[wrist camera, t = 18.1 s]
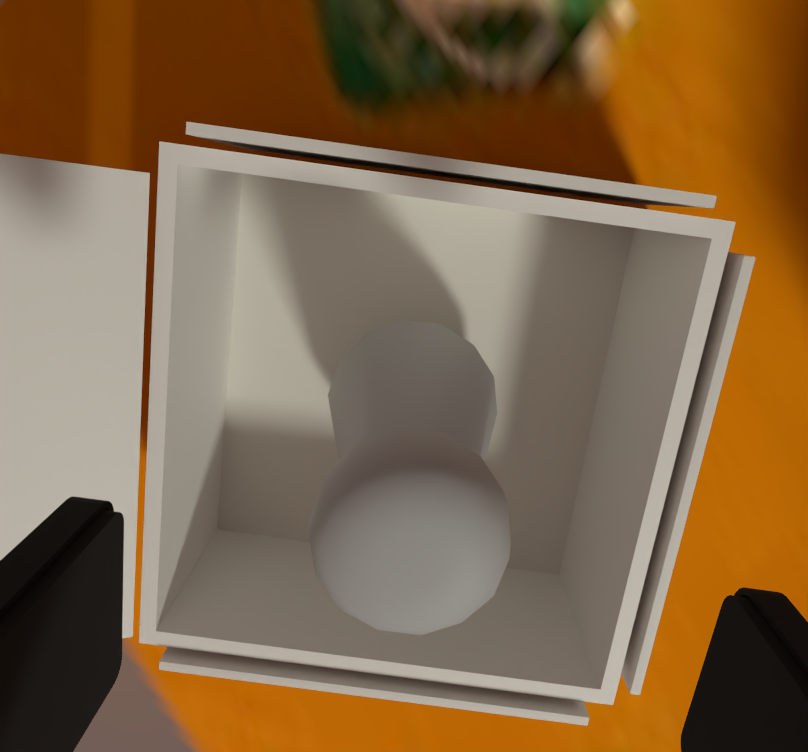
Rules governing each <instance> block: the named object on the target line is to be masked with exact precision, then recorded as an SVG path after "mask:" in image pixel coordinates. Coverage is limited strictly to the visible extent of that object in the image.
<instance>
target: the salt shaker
mask: <svg viewBox="0 0 808 752" xmlns="http://www.w3.org/2000/svg"><path fill="white" fill-rule="evenodd" d="M328 399H329V405H330V411H331V417H332V423H333V429H334V435H335V441H336V447H337V453H338V459H339V461H338V462H337V463H336V464H335V465H334V466H333V467H332V468H331V469H330V470H329V471H328V473H327V474H326V476H325V478H324V480H323V482H322V485H321V488H320V491H319V493H318V496H317V499H316V502H315V505H314V508H313V510H312V513H311V516H310V519H309V540H310V545H311V551H312V556H313V562H314V567H315V573H316V577H317V579H318V580H319V581H320V583H321V584H322V585H323V587H324V588H325V590H326V591H327V592H328V594H329V595H330V596H331V598H332V599H333V601H334V602H335V603H336V605H337V606H338V608H339V609H340V610H341V611H343V612H345V613H347V614H348V615H350V616H352V617H354V618H356V619H358V620H360V621H362V622H363V623H365V624H367V625H369V626H371V627H373V628H375V629H376V630H379V631H388V632H396V633H405V634H413V635H424V634H427V633H430V632H433V631H437V630H440V629H443V628H447V627H450V626H453V625H456V624H460V623H462V622H463V621H465V620H466V619H467V618H468V617H469V616H471V615H472V614H473V613H474V612H475V611H477V610H478V609H479V608H480V607H481V606H483V605H484V604H485V603H486V602H487V601H489V600H490V599H491V598H492V597H493V596H494V595H495V592H496V590H497V587H498V585H499V583H500V580H501V578H502V575H503V573H504V571H505V568H506V566H507V563H508V561H509V558H510V547H511V539H510V525H509V512H508V501H507V499H506V496H505V494H504V491H503V489H502V488H501V486H500V485H499V483H498V482H497V480H496V479H495V477H494V476H493V474H492V473H491V471H490V470H489V468H488V467H487V465H486V464H485V459H486V455H487V451H488V447H489V443H490V439H491V435H492V432H493V428H494V424H495V420H496V416H497V404H496V392H495V381H494V376H493V374H492V373H491V371H490V369H489V368H488V366H487V365H486V363H485V362H484V360H483V358H482V357H481V355H480V354H479V352H478V350H477V349H476V347H475V346H474V345H473V344H472V343H470V342H469V341H467V340H465V339H464V338H462V337H461V336H459V335H457V334H456V333H454V332H453V331H451V330H449V329H448V328H446V327H445V326H443V325H441V324H436V323H426V322H417V321H407V320H403V321H400V322H397V323H394V324H391V325H388V326H385V327H382V328H379V329H376V330H373V331H370V332H368V333H366V334H365V335H364V336H363V337H362V338H361V339H360V340H359V341H358V342H357V343H356V344H355V345H354V346H353V347H352V348H351V349H350V350H349V351H348V352H347V353H346V354H345V356H344V357H343V358H342V359H341V360H340V362H339V365H338V367H337V370H336V373H335V376H334V379H333V382H332V384H331V387H330V390H329V393H328Z"/></svg>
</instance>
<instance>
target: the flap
mask: <svg viewBox="0 0 808 752" xmlns="http://www.w3.org/2000/svg"><path fill="white" fill-rule="evenodd" d="M149 185H150V173H148V172H140V171H132V170H125V169H117V168H109V167H101V166H94V165H86V164H78V163H70V162H63V161H55V160H47V159H39V158H32V157H24V156H16V155H8V154H1V153H0V560H2V559H3V558H4V557H5V556H6V555H7V554H8V553H9V552H10V551H11V550H12V549H14V548H15V547H16V546H17V545H18V544H19V543H20V542H21V541H22V540H23V539H24V538H25V537H27V536H28V535H29V534H30V533H31V532H32V531H33V530H34V529H35V528H36V527H37V526H38V525H40V524H41V523H42V522H43V521H44V520H45V519H46V518H47V517H48V516H49V515H50V514H52V513H53V512H54V511H55V510H56V509H57V508H58V507H59V506H60V505H61V504H62V503H63V502H65V501H66V500H67V499H68V498H70V497H82V498H89V499H97V500H104V501H110V502H111V503H112V505H113V508H114V512H121V513H122V514H123V517H124V554H123V617H122V638H128V637H133V613H134V586H135V559H136V532H137V506H138V479H139V452H140V425H141V399H142V372H143V345H144V318H145V292H146V265H147V238H148V211H149Z"/></svg>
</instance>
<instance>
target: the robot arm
mask: <svg viewBox="0 0 808 752" xmlns="http://www.w3.org/2000/svg"><path fill="white" fill-rule="evenodd" d="M123 554H124V517H123V514H122V513H121V512H114V508H113V505H112V503H111V502H110V501H104V500H97V499H89V498H82V497H70V498H68V499H67V500H66V501H65V502H63V503H62V504H61V505H60V506H59V507H58V508H57V509H56V510H55V511H54V512H53V513H52V514H50V515H49V516H48V517H47V518H46V519H45V520H44V521H43V522H42V523H41V524H40V525H38V526H37V527H36V528H35V529H34V530H33V531H32V532H31V533H30V534H29V535H28V536H27V537H25V538H24V539H23V540H22V541H21V542H20V543H19V544H18V545H17V546H16V547H15V548H14V549H12V550H11V551H10V552H9V553H8V554H7V555H6V556H5V557H4V558H3V559H2V560H0V752H73V751H74V749H75V747H76V745H77V744H78V742H79V741H80V739H81V738H82V736H83V734H84V733H85V731H86V729H87V728H88V726H89V724H90V723H91V721H92V719H93V718H94V716H95V715H96V713H97V711H98V709H99V708H100V706H101V705H102V703H103V701H104V700H105V698H106V696H107V694H108V693H109V691H110V690H111V688H112V686H113V685H114V683H115V681H116V679H117V676H118V673H119V670H120V665H121V660H122V617H123ZM681 751H682V752H808V622H807V621H806V620H805V619H804V617H803V616H802V615H801V614H800V613H799V611H798V610H797V609H796V608H795V607H794V605H793V604H792V603H791V602H790V601H789V599H788V598H787V597H786V596H785V595H783V594H782V593H779V592H772V591H765V590H758V589H750V588H741V589H739V590H738V591H737V592H736V593H735V595H734V596H731V595H730V596H727V597H726V598H725V599H724V601H723V604H722V607H721V610H720V613H719V616H718V619H717V623H716V626H715V629H714V632H713V635H712V638H711V642H710V645H709V648H708V651H707V654H706V658H705V661H704V664H703V667H702V670H701V673H700V677H699V680H698V683H697V686H696V689H695V692H694V696H693V699H692V702H691V705H690V708H689V712H688V715H687V718H686V721H685V724H684V727H683V731H682V735H681Z"/></svg>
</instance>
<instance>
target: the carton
mask: <svg viewBox="0 0 808 752" xmlns="http://www.w3.org/2000/svg"><path fill="white" fill-rule="evenodd" d="M186 134H187V135H191V136H195V137H199V138H203V139H207V140H211V141H215V142H219V143H223V144H227V145H231V146H235V147H239V148H243V149H247V150H254V151H261V152H268V153H276V154H283V155H290V156H297V157H304V158H311V159H318V160H326V161H333V162H340V163H347V164H354V165H361V166H368V167H376V168H383V169H390V170H397V171H404V172H411V173H418V174H426V175H433V176H440V177H447V178H454V179H461V180H468V181H476V182H483V183H490V184H497V185H504V186H511V187H518V188H526V189H533V190H540V191H547V192H554V193H561V194H568V195H576V196H583V197H590V198H597V199H604V200H611V201H619V202H626V203H633V204H645V205H664V206H683V207H702V208H714V206H715V202H716V198H717V196H714V195H707V194H699V193H692V192H685V191H678V190H671V189H664V188H657V187H650V186H642V185H635V184H628V183H621V182H614V181H607V180H600V179H593V178H585V177H578V176H571V175H564V174H557V173H550V172H543V171H536V170H528V169H521V168H514V167H507V166H500V165H493V164H486V163H479V162H471V161H464V160H457V159H450V158H443V157H436V156H429V155H421V154H414V153H407V152H400V151H393V150H386V149H379V148H372V147H364V146H357V145H350V144H343V143H336V142H329V141H322V140H315V139H307V138H300V137H293V136H286V135H279V134H272V133H265V132H258V131H250V130H243V129H236V128H229V127H222V126H215V125H208V124H201V123H193V122H186ZM735 223H736V222H733V221H726V220H718V219H711V218H704V217H697V216H690V215H683V214H675V213H668V212H661V211H654V210H647V209H640V208H633V207H625V206H618V205H611V204H604V203H597V202H590V201H583V200H575V199H568V198H561V197H554V196H547V195H540V194H533V193H525V192H518V191H511V190H504V189H497V188H490V187H482V186H475V185H468V184H461V183H454V182H447V181H440V180H432V179H425V178H418V177H411V176H404V175H397V174H390V173H382V172H375V171H368V170H361V169H354V168H347V167H340V166H332V165H325V164H318V163H311V162H304V161H297V160H290V159H282V158H275V157H268V156H261V155H254V154H247V153H239V152H232V151H225V150H218V149H211V148H204V147H197V146H189V145H182V144H175V143H168V142H161V141H159V161H158V186H157V211H156V235H155V260H154V285H153V310H152V335H151V359H150V384H149V409H148V434H147V459H146V483H145V508H144V533H143V558H142V583H141V607H140V632H139V643H144V644H151V645H159V646H167V649H166V651H165V652H164V654H163V656H162V658H161V660H160V662H159V670H165V671H173V672H181V673H188V674H196V675H204V676H211V677H219V678H227V679H234V680H242V681H249V682H257V683H265V684H272V685H280V686H288V687H295V688H303V689H311V690H318V691H326V692H334V693H341V694H349V695H357V696H364V697H372V698H379V699H387V700H395V701H402V702H410V703H418V704H425V705H433V706H441V707H448V708H456V709H464V710H471V711H479V712H486V713H494V714H502V715H509V716H517V717H525V718H532V719H540V720H548V721H555V722H563V723H571V724H578V725H586V726H587V725H588V721H589V715H588V712H587V709H586V706H585V703H584V701H586V702H593V703H601V704H609V705H613V703H614V699H615V695H616V691H617V687H618V684H619V680H620V676H621V673H622V675H623V678H624V680H625V683H626V685H627V687H628V690H629V692H630V694H636V695H640V692H641V689H642V685H643V681H644V677H645V673H646V670H647V666H648V662H649V658H650V655H651V651H652V647H653V643H654V639H655V636H656V632H657V628H658V624H659V621H660V617H661V613H662V609H663V605H664V602H665V598H666V594H667V590H668V587H669V583H670V579H671V575H672V572H673V568H674V564H675V560H676V556H677V553H678V549H679V545H680V541H681V538H682V534H683V530H684V526H685V522H686V519H687V515H688V511H689V507H690V504H691V500H692V496H693V492H694V488H695V485H696V481H697V477H698V473H699V470H700V466H701V462H702V458H703V454H704V451H705V447H706V443H707V439H708V436H709V432H710V428H711V424H712V420H713V417H714V413H715V409H716V405H717V402H718V398H719V394H720V390H721V386H722V383H723V379H724V375H725V371H726V368H727V364H728V360H729V356H730V352H731V349H732V345H733V341H734V337H735V334H736V330H737V326H738V322H739V319H740V315H741V311H742V307H743V303H744V300H745V296H746V292H747V288H748V285H749V281H750V277H751V273H752V269H753V266H754V262H755V258H756V257H752V256H747V255H742V254H737V253H731V252H728V251H729V247H730V243H731V239H732V235H733V231H734V227H735ZM403 320H407V321H417V322H426V323H436V324H441V325H443V326H445V327H446V328H448V329H449V330H451V331H453V332H454V333H456V334H457V335H459V336H461V337H462V338H464V339H465V340H467V341H469V342H470V343H472V344H473V345H474V346H475V347H476V349H477V350H478V352H479V354H480V355H481V357H482V358H483V360H484V362H485V363H486V365H487V366H488V368H489V369H490V371H491V373H492V374H493V376H494V381H495V392H496V404H497V416H496V420H495V424H494V428H493V432H492V435H491V439H490V443H489V447H488V451H487V455H486V459H485V464H486V465H487V467H488V468H489V470H490V471H491V473H492V474H493V476H494V477H495V479H496V480H497V482H498V483H499V485H500V486H501V488H502V489H503V491H504V494H505V496H506V499H507V501H508V512H509V525H510V539H511V547H510V558H509V561H508V563H507V566H506V568H505V571H504V573H503V575H502V578H501V580H500V583H499V585H498V587H497V590H496V592H495V595H494V596H493V597H492V598H491V599H490V600H489V601H487V602H486V603H485V604H484V605H483V606H481V607H480V608H479V609H478V610H477V611H475V612H474V613H473V614H472V615H471V616H469V617H468V618H467V619H466V620H465V621H463V622H462V623H460V624H456V625H453V626H450V627H447V628H443V629H440V630H437V631H433V632H430V633H427V634H424V635H413V634H405V633H396V632H388V631H379V630H376V629H375V628H373V627H371V626H369V625H367V624H365V623H363V622H362V621H360V620H358V619H356V618H354V617H352V616H350V615H348V614H347V613H345V612H343V611H341V610H340V609H339V608H338V606H337V605H336V603H335V602H334V601H333V599H332V598H331V596H330V595H329V594H328V592H327V591H326V590H325V588H324V587H323V585H322V584H321V583H320V581H319V580H318V579H317V577H316V573H315V567H314V562H313V556H312V551H311V545H310V540H309V519H310V516H311V513H312V510H313V508H314V505H315V502H316V499H317V496H318V493H319V491H320V488H321V485H322V482H323V480H324V478H325V476H326V474H327V473H328V471H329V470H330V469H331V468H332V467H333V466H334V465H335V464H336V463H337V462H338V461H339V459H338V453H337V447H336V441H335V435H334V429H333V423H332V417H331V411H330V405H329V399H328V393H329V390H330V387H331V384H332V382H333V379H334V376H335V373H336V370H337V367H338V365H339V362H340V360H341V359H342V358H343V357H344V356H345V354H346V353H347V352H348V351H349V350H350V349H351V348H352V347H353V346H354V345H355V344H356V343H357V342H358V341H359V340H360V339H361V338H362V337H363V336H364V335H365V334H366V333H368V332H370V331H373V330H376V329H379V328H382V327H385V326H388V325H391V324H394V323H397V322H400V321H403Z"/></svg>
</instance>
